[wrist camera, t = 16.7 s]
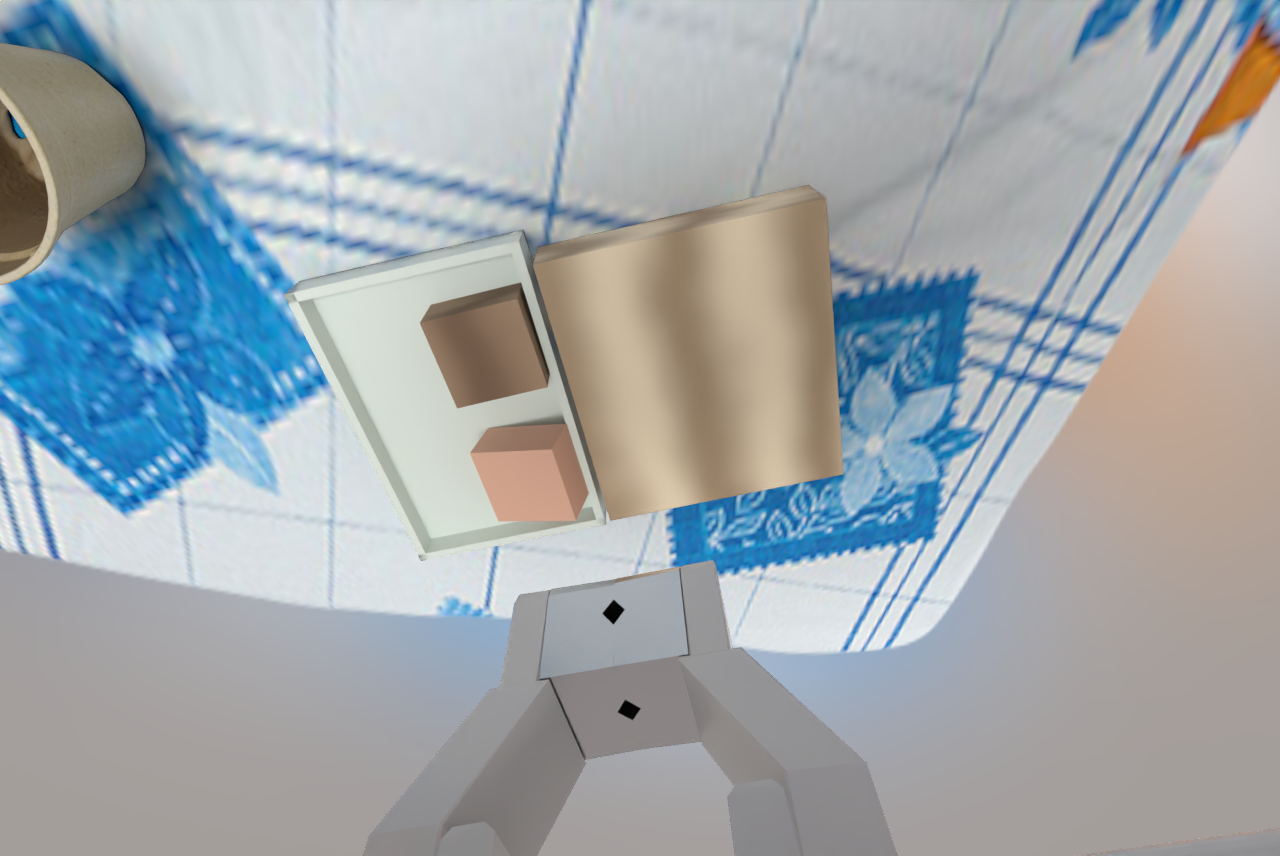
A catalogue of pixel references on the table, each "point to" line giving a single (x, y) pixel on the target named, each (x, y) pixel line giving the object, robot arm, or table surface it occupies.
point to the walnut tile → (486, 345)
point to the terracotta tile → (531, 473)
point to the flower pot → (58, 151)
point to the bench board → (701, 350)
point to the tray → (434, 389)
